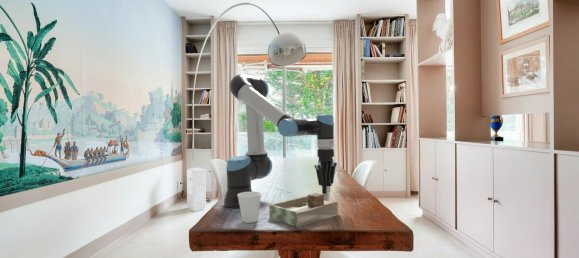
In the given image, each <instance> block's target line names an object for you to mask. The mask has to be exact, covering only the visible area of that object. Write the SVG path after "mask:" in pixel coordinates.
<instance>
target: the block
mask: <svg viewBox="0 0 579 258" xmlns="http://www.w3.org/2000/svg"><path fill="white" fill-rule="evenodd" d="M307 196H308V206H310V207H313V208H315V207H319V206H323V205H325V200H324V195H323V193H322V194H321V193H317V192H314V193H309V194H307Z"/></svg>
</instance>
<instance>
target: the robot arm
mask: <svg viewBox="0 0 579 258" xmlns="http://www.w3.org/2000/svg"><path fill="white" fill-rule="evenodd" d="M229 91H230V94H231V95H232V96H234V98H236V99H237V101H239V102H242V103H243V104H244V105H245V113H246V117H245V118H246V132H247V133H246V137H247V151H246V153H245V154H244V155H239V156H232V157H229V158H228V159H227V161H226V187H227V188H226V192H225V196H224V199H223V206H224V207H226V208H231V209H240V204H239V200H238V196H237V194H239V193H242V192H253V189H252V181H255V180H259V179H264V178H266V177H268V176H269V175H270V174H271V173H272V169H273V162H272V159H270V158H271V157H269V156H268V152H267V151H266V150H265V139H264V137H265V136H264V118H265V120H267V121H269V122H270V123H271V124H272V125H274V126H275V127H276V128H277V131H278V133H279V134H280V135H281V136H283V137H287V138H288V137H289V138H290V137H291V138H292V137H298V136H316V142H317V143H316V147H317V150H316V151H317V152H316V153H317V158H318V161H317V164H315V165H314V166H313V167H314V169H315V171H316V177H317V182H318V186H319V187H321V193H322V194H323V195H324V202H325V201H326V202H329V201H330V198H331V197H330V192H331V187H332V186H333V184H334V180H335V173H336V167H337V165H338V164H337V162H335V161H334V159H333V158H334V157H335V149H334V147H335V144H334V143H335V140H334V139H335V138H334V137H335V136H334V135H335V134H334V132H335V131H334V130H335V129H334V127H335V121H334V115H332V114H327V113H325V114H323V113H322V114H317V116H316V118H313V119H312V118H306V119H305V118H302V119H301V118H294V117H292V116H291V115H289V114H288V113H287V112H285V111H284V110H282V109H281V108H280V107H278V105H276V104H275V103H273V102H272V101H271V100H269V99H268V98H267V96H268V94H269V85H268V83H267V81H266V80H265V79H264V78H262V77H259V76H253V75H249V74H248V75H247V74H241V73H240V74H237V75H235V76H233V77H232V78H231V80H230V82H229Z"/></svg>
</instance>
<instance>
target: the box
mask: <svg viewBox="0 0 579 258" xmlns="http://www.w3.org/2000/svg"><path fill="white" fill-rule="evenodd" d="M268 206H269V207H268V208H269V219H272V220H275V221H278V222H282V223H284V224H287V225H291V226H293V227H295V228H301V227H304V226H308V225H311V224H314V223H317V222H320V221H323V220H326V219H329V218H333V217H335V216H338V215H339V203H338V201H334V202H332V203H331V202H330V203H327V204H324V205H323V206H319V207H315V208H313V207H310V206H308V195H305V196H299V197H298V198H297V197H296V198H292V199H289V200H283V201H280V202H279V201H278V202H275V203H272V204H271V203H270V204H269V205H268Z"/></svg>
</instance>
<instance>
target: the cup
mask: <svg viewBox="0 0 579 258" xmlns="http://www.w3.org/2000/svg"><path fill="white" fill-rule="evenodd" d="M237 196H238V200H239V204H240V208H239V209H240V210H239V211H240V215H241V220H242V222H243V223H245V224H253V223H256V222H257V221H258V219H259V211H260V205H261V198H262V193H261V192H260V191H252V192H242V193H239V194H237Z"/></svg>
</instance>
